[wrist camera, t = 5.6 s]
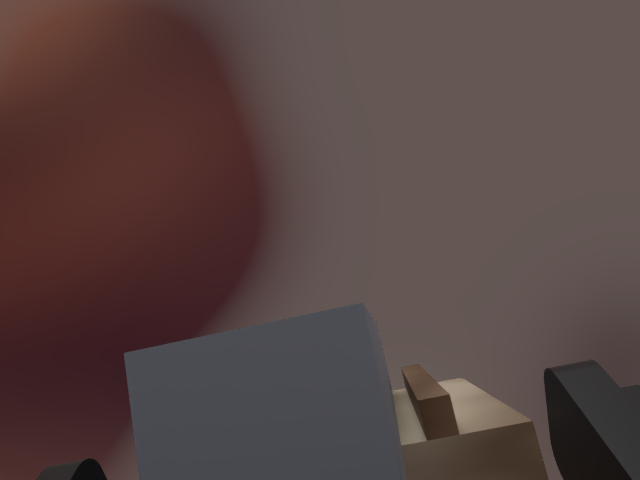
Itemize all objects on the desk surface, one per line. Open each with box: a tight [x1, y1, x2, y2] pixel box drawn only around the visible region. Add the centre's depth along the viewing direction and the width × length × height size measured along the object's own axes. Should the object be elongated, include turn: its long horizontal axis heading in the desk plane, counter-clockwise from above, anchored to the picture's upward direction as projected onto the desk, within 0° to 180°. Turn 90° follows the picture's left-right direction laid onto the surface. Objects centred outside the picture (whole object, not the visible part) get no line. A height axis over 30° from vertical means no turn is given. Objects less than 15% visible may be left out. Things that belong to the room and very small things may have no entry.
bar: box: [124, 303, 407, 480], centre depth 18 cm, size 4×22×4 cm, turn 173°
